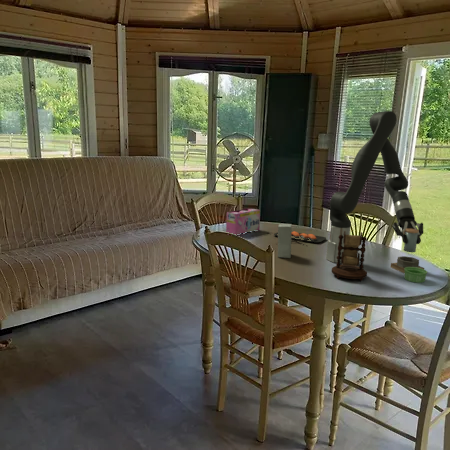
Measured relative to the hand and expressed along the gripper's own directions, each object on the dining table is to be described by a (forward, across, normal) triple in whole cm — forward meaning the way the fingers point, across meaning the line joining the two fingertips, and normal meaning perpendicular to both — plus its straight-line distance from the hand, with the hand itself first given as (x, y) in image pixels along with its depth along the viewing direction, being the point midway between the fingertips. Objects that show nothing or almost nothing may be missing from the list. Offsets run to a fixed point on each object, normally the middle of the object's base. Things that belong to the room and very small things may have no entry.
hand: (412, 243), depth 183 cm
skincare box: (-5, -54, +23) cm, 59 cm away
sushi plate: (-26, -43, +45) cm, 68 cm away
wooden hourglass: (+15, -30, +3) cm, 34 cm away
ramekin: (+17, -3, +2) cm, 18 cm away
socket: (+8, 0, +10) cm, 13 cm away
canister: (+2, 0, +4) cm, 5 cm away
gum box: (-39, -72, +58) cm, 100 cm away
